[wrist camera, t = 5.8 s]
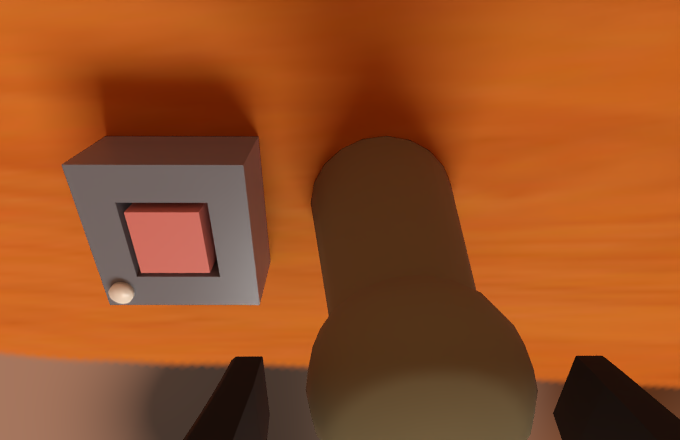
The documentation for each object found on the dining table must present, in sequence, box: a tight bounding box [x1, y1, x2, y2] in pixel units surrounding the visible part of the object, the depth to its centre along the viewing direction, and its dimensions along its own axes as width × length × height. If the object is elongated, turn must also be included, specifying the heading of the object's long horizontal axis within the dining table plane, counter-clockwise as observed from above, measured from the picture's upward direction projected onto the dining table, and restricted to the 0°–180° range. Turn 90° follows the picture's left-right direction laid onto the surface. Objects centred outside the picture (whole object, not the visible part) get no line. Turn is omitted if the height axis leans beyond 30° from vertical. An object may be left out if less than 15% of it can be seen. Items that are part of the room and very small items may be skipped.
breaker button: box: [124, 203, 217, 273], centre depth 16 cm, size 3×3×2 cm
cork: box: [306, 136, 538, 440], centre depth 13 cm, size 6×6×11 cm
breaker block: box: [62, 136, 270, 305], centre depth 16 cm, size 6×6×3 cm
